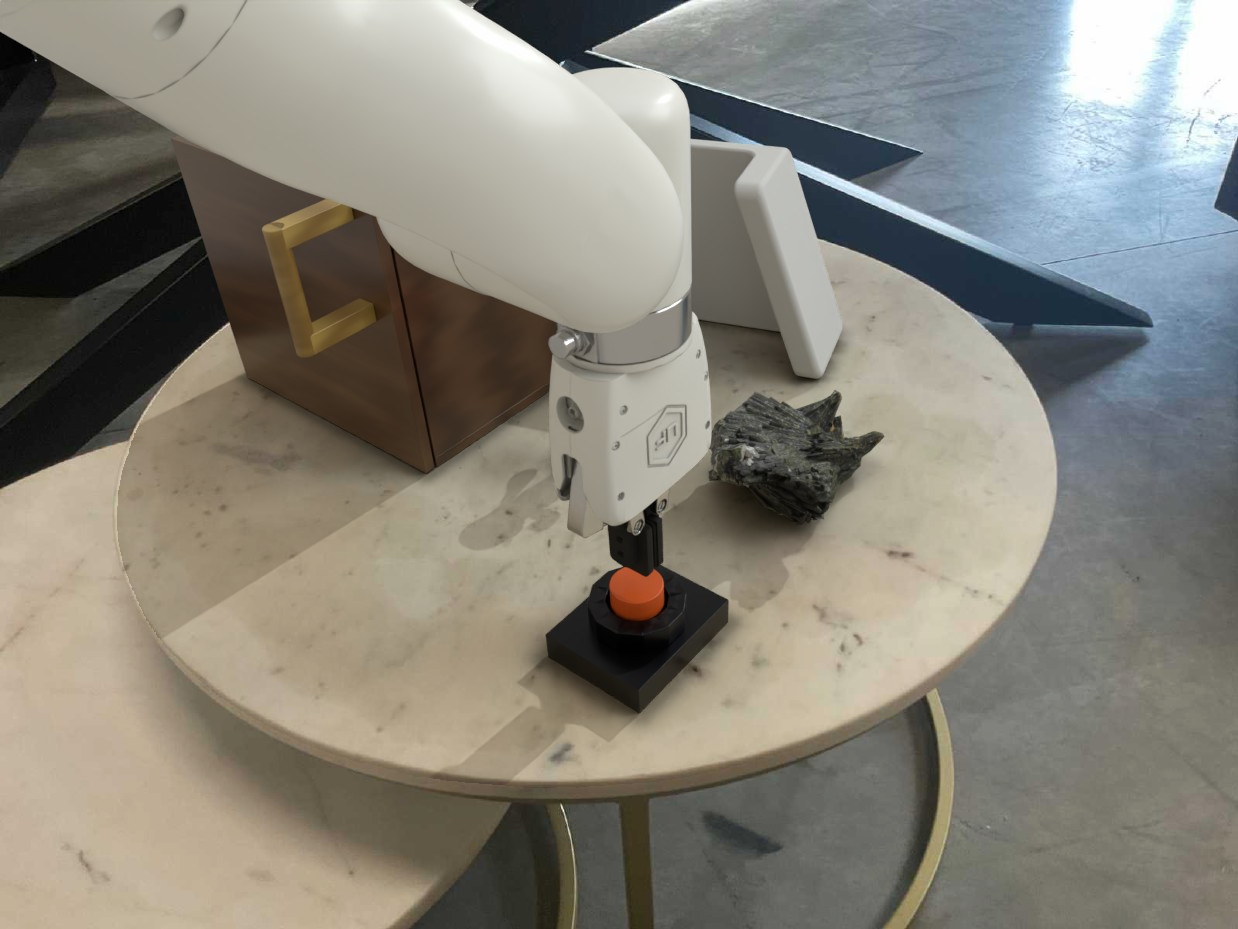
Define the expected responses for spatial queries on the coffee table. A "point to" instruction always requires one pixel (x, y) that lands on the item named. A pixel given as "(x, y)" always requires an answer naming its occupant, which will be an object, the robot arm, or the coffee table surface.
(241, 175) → the door
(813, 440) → the mineral specimen
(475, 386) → the cupboard
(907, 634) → the coffee table surface
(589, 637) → the button block
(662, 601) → the button
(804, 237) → the bracket
